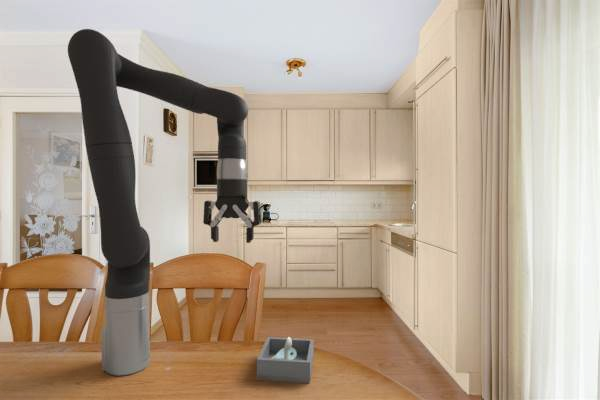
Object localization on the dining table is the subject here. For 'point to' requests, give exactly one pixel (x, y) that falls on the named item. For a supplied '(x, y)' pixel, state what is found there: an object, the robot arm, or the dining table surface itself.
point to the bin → (286, 361)
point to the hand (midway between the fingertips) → (232, 242)
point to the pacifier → (286, 351)
